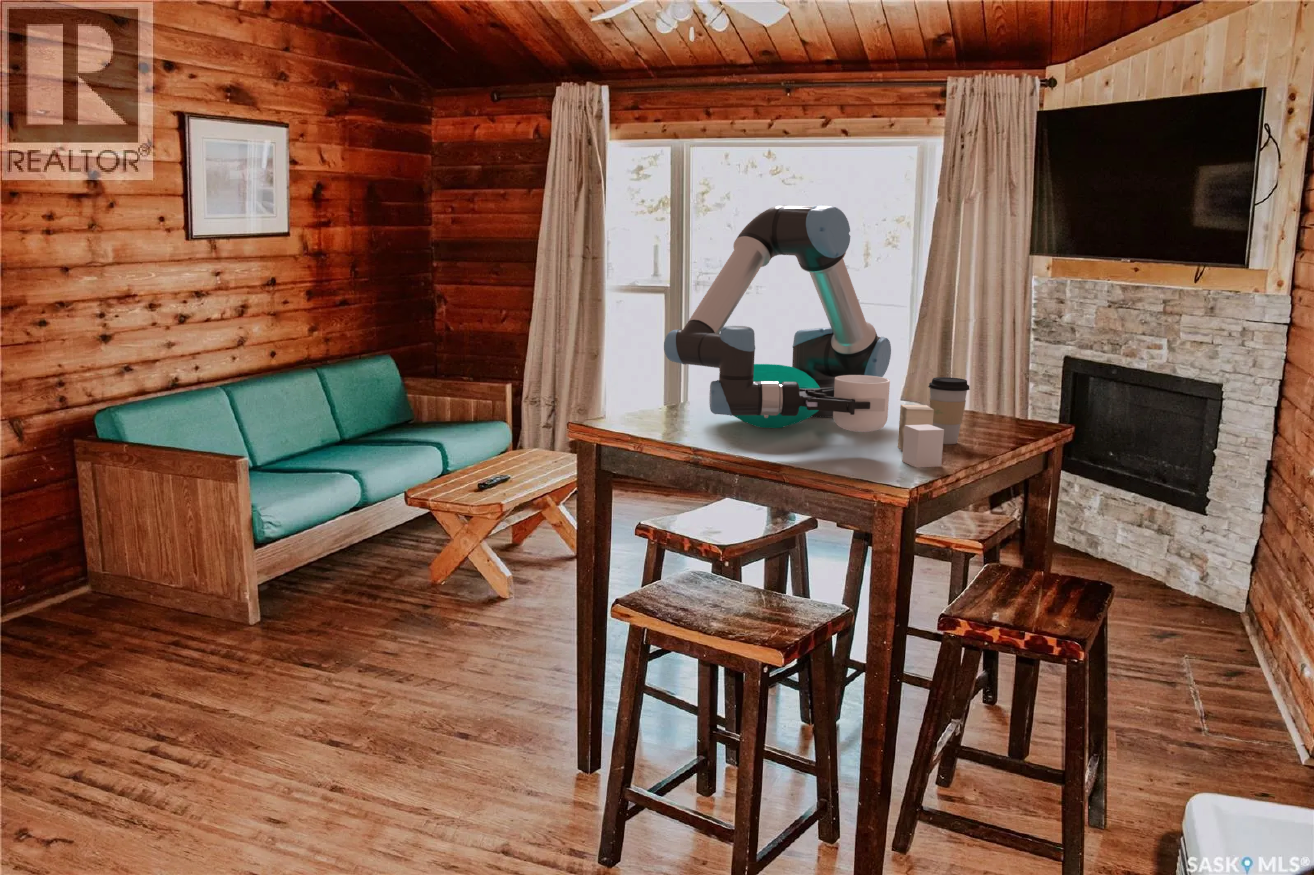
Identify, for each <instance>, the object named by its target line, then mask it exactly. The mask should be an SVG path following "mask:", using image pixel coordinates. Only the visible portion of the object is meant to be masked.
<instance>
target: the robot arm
mask: <svg viewBox="0 0 1314 875" xmlns="http://www.w3.org/2000/svg"><path fill="white" fill-rule="evenodd" d="M850 232H851V227H850V223H849V221H848V218H847V215H846V214H845V213H844V212H843V210H841V209H840V208H838V207H836V206H833V205H832V206H831V205H825V204H816V205H787V204H786V205H785V204H783V205H782V204H779V205H775V206H773V207H769V208H768V209H766V210H764V211H762V212H761V213H759V214H757V216H755V217H754V218H752V220H751V221H749V223H747V225H746V226H744V228H743V229H742V230H741V232H739V234H738V236H737V237H736V239H735V240H734V242H733V247H732V248H733V251H732V253H731V254H730V256H729V258H728V259H727V260H726V262H725V264H724V265H723V267H722V268H721V270H720V271H719V273H718V275H717V276H716V278H715V279H714V281H713V282H712V284H711V286H710V287H709V288H708V290H707V291H706V293H705V295H704V296H703V298H702V300H701V301H700V303H698V305H697V307H696V309H695V310H694V311H693V313H692V314H691V316H690V318H689V319H688V321H687V323H686V324H685V326H684V327H683V329H682V328H678V329H673V330H671V331H669V332H668V333H667V334H666V336H665V337H664V338H665V339H664V342H663V351H664V354H665V357H666V358H667V359H668V360H669V361H671V362H672V363H676V364H681V365H685V366H686V365H690V366H691V365H693V366H701V367H708V368H716V369H718V370H719V375H718V379H717V380H712V381H711V382H710V385H709V396H708V397H709V398H708V399H709V410H710V412H711V413H712V414H714V415H722V416H724V415H725V416H733V415H764V417H765V418H768V415H778V414H779V413H780V414H781V415H782V416H796V415H797V414H798V412H799V407H800V406H803V407H807V410H819V411H817V412H816V413H815V414H813V415H812V416H811V417H810V418H833V411H835V412H847V413H850V415H854V412H855V411H885V398H854V399H846V398H838V397H834V386H835V377H837V376H844V375H867V376H877V377H883V378H884V376H885V375H886V372H887V371H888V368H889V365H890V360H891V356H892V346H891V341H890V340H889V338H887V337H884V336H878V334H877V332H876V331H877V330H876V328H875V327H874V325H873V324H871V323H870V322H868V321H866V318H865V315H864V313H863V310H862V307H861V304H860V302H859V298H858V296H857V293H856V290H855V287H854V286H853V282H852V280H851V276H850V273H849V271H848V268H847V265H846V263H845V260H844V258H845V255H846V254H847V250H848V248H849V246H850V242H851V235H850ZM781 255H783V256H794V257H796V260H797V263H798V264H799V266H800V268H801V269H802V270H803V271H805V272H809V274H810V277H811V280H812V282H813V285H814V288H815V290H816V292H817V296H818V297H819V301H820V304H821V305H822V308H823V310H824V314H825V316H826V318H827V321H828V324H829V326H830V327H817V328H807V329H805V328H804V329H799V330H797V331H796V332H795V333H794V336H793V344H792V366H791V367H794V368H796V369H799V370H801V371H803V372H805V373H806V374H808V375H809V376H810V377H811V378H813V379H814V380H815V381H816V383H817V384H818V385H819V387H820V388H811V389H803V388H800V389H799V385H798V383H797V382H782V383H781V384H779V382H778V381H761V382H760V381H757V382H756V381H753V377H754V364H755V354H756V341H755V340H756V339H755V337H756V336H755V330H754V329H753V328H752V327H750V326H746V325H728V326H727V325H726V324H727V321H728V320H729V318H730V317H731V315H732V314H733V312H734V311H735V309H736V307H737V306H738V305H739V303H740V301H741V299H742V298H743V296H744V295H745V293H746V291H747V290H748V288H749V287H750V285H751V284H752V282H753V280H754V279H755V277H756V276H757V274H758V272H759V271H760V269H761V268H763V267H766V266H768V265H769V263H770V261H771V260H772V258H774V257H776V256H781Z"/></svg>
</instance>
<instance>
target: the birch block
mask: <svg viewBox="0 0 1314 875" xmlns="http://www.w3.org/2000/svg"><path fill="white" fill-rule="evenodd" d="M899 408H900V410H899V422H898V434H897V435H898V436H897V448H898V449H899V450H900V451H902V452H903V441H904V427H905V425H926V424H930V425H932V426H933V414H934V409H932V408H930V405H927V404H900V407H899Z"/></svg>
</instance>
